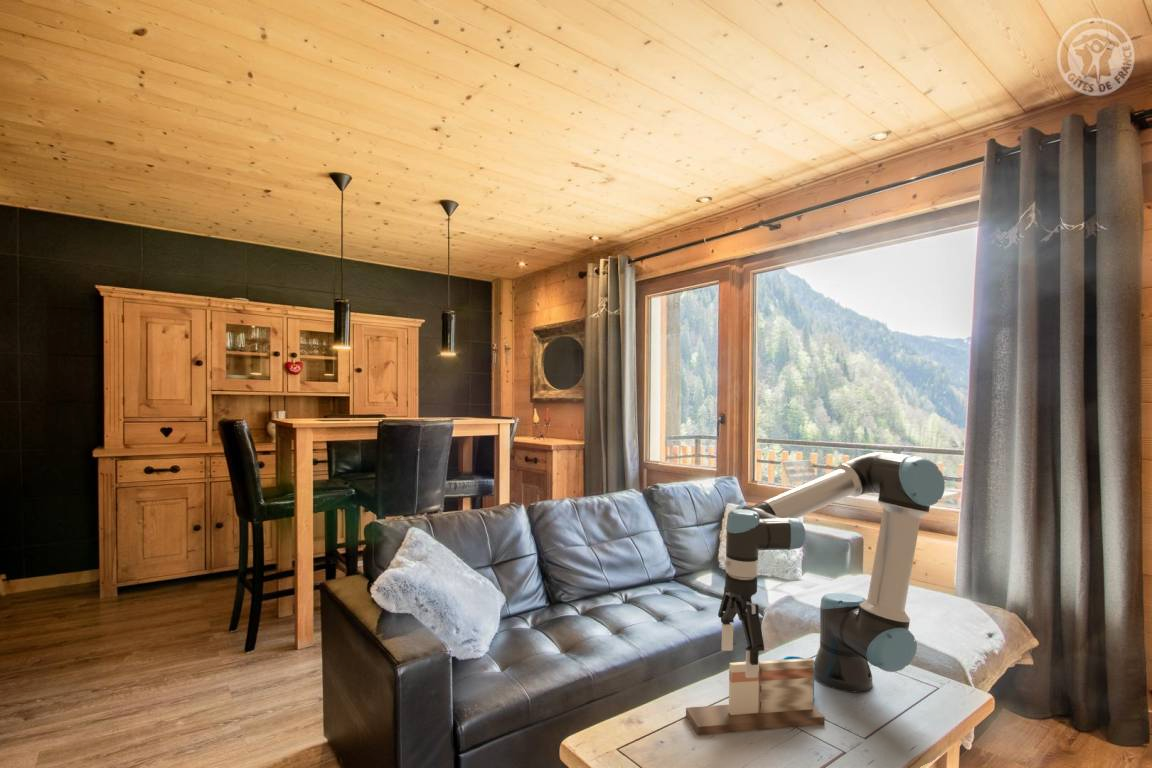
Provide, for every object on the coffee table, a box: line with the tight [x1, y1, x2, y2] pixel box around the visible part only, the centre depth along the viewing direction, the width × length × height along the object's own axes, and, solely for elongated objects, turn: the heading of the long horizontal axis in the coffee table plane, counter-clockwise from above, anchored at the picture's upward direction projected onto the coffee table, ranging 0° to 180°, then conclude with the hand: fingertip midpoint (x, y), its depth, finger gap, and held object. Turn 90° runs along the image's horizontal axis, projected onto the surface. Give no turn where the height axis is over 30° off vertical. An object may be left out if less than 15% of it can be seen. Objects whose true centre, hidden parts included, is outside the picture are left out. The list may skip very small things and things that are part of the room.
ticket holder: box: [685, 657, 826, 736], centre depth 140 cm, size 32×8×14 cm, turn 99°
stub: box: [728, 661, 759, 715], centre depth 140 cm, size 7×1×12 cm, turn 99°
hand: (738, 662), depth 139 cm, fingers open, 13 cm apart
